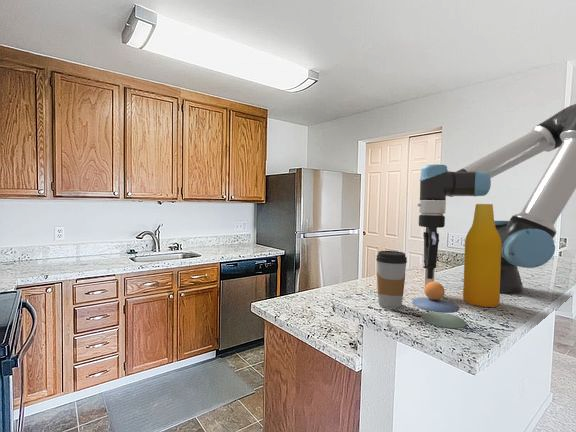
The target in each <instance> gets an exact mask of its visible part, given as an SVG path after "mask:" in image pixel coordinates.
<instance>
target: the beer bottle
mask: <svg viewBox="0 0 576 432" xmlns="http://www.w3.org/2000/svg"><path fill="white" fill-rule="evenodd" d="M493 205H494V204H493V203H492V204H491V203H476V204H475V206H474V207H475V208H474V212H473V220H472V225H471V227H470V229H469V230H468V232H467V234H466V236H465V239H464V258H463V259H464V265H463V288H462V289H463V290H462V297H463V298H462V299H463V300H464V302H465V303H468V304H469V305H472V306H478V307H484V308H495V307H498V306H499V304H500V300H501V299H500V298H501V296H500V295H501V292H500V270H501V247H502V244H501V238H500V236H499V233H498V231H497V229H496V227H495V224H494V221H495V216H494V215H495V214H494V206H493Z"/></svg>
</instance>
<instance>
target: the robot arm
mask: <svg viewBox="0 0 576 432" xmlns="http://www.w3.org/2000/svg"><path fill="white" fill-rule="evenodd" d="M556 149H557V151H556V153H555V154H554V156H553V158H552V159H551V161H550V163H548V164H549V165H548V166H547V168H546V169H545V171H544V173H543V175H542V176H541V178H540V179H539V181H538V183H537V185H536V187H535V188H534V190H533V191H532V194H531V195H530V197H529V198H528V200H527V202H526V203H525V205H524V207H523V208H522V210H521V212H519V213H516V214H513V215H512V216H511V217H510V219H509V220H494V224H495V227H496V229H497V231H498V233H499V236H500V238H501V244H502V247H501V270H500V294H501V293H502V294H504V293H505V294H518V293H522V292H523V287H524V285H523V282H522V279H521V278H522V277H521V275H520V271H519V269H518V267H520V268H526V269H534V268H539V267H541V266H544V265H545V264H547V263H549V261H550V260H551V259H552V258H553V257H554V254H555V251H556V245H555V240H554V238H555V236H556V235H557V230H556V228H555V224H556V222H557V220H558V219H559V217H560V215H561V214H562V212H563V210H564V209H565V207H566V205H568V202H569V201H570V199H571V197H572V195H573V193H574V192H575V191H576V103H574V104H572V105H569V106H567V107H565V108H563V109H561V110H560V111H558V112H557V113H555V114H554V115H552V116H550V117H548V118H547V119H545V120H544V121H542V122H540V123H538V124H537V125H535V126H534V127H532V129H531V130H530V132H528V133H526V134H525V135H523V136H521V137H519V138H517V139H515V140H514V141H511V142H509V143H508V144H506V145H504V146H502V147H500V148H498V149H496V150H494V151H492V152H491V153H489V154H487V155H485V156H483V157H480V158H479V159H477V160H475V161H474V162H472V163H470V164H468V165H466V166H464V167H462V168H461V169H459V170H457V171H451V170H450V171H449V169H448V166H447V165H445V164H425V165H423V166H422V167H421V169H420V171H421V172H420V179H419V182H420V183H419V203H417V207H419V209H418V210H419V211H418V212H419V215H418V226H419V227H423V228H425V231H423V235H422V236H423V264H424V265H423V269H424V276H423V277H424V279H423V288H424V289H425V286H426V285H427V284H428V283H429V282H435V270H436V269H437V261H438V249H439V242H440V234H439V233H438V229H439V228H444V227H445V224H446V216H445V215H444V214H446V205H447V201H446V200H447V197H450V198H451V197H484V196H486V195H488V194H489V192H490V190H491V184H492V180H491V179H492V178H494V177H495V176H498V175H500V174H502V173H504V172H506V171H508V170H510V169H512V168H515V166H518V165H519V164H521V163H523V162H525V161H527V160H530V159H531V158H533V157H535V156H537V155H539V154H542V153H543V152H548V153H549V152H550V153H551V152H552V151H554V150H556Z"/></svg>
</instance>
